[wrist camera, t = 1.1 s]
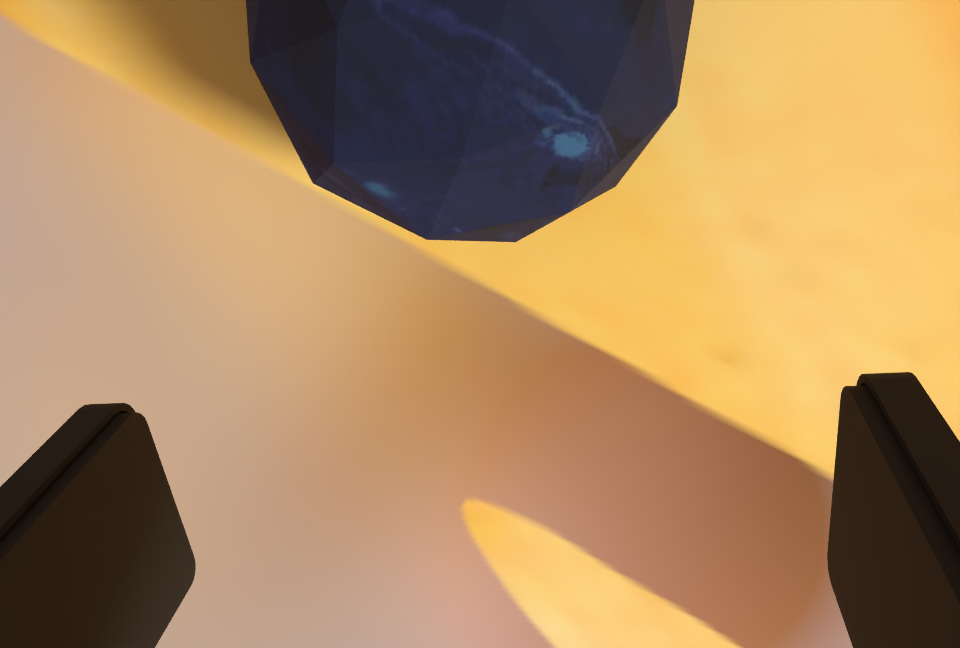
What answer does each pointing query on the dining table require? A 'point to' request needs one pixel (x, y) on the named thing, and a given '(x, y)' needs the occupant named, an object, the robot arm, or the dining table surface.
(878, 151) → the dining table surface
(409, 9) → the decorative orb
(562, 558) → the dining table surface
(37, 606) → the robot arm
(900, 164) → the dining table surface
